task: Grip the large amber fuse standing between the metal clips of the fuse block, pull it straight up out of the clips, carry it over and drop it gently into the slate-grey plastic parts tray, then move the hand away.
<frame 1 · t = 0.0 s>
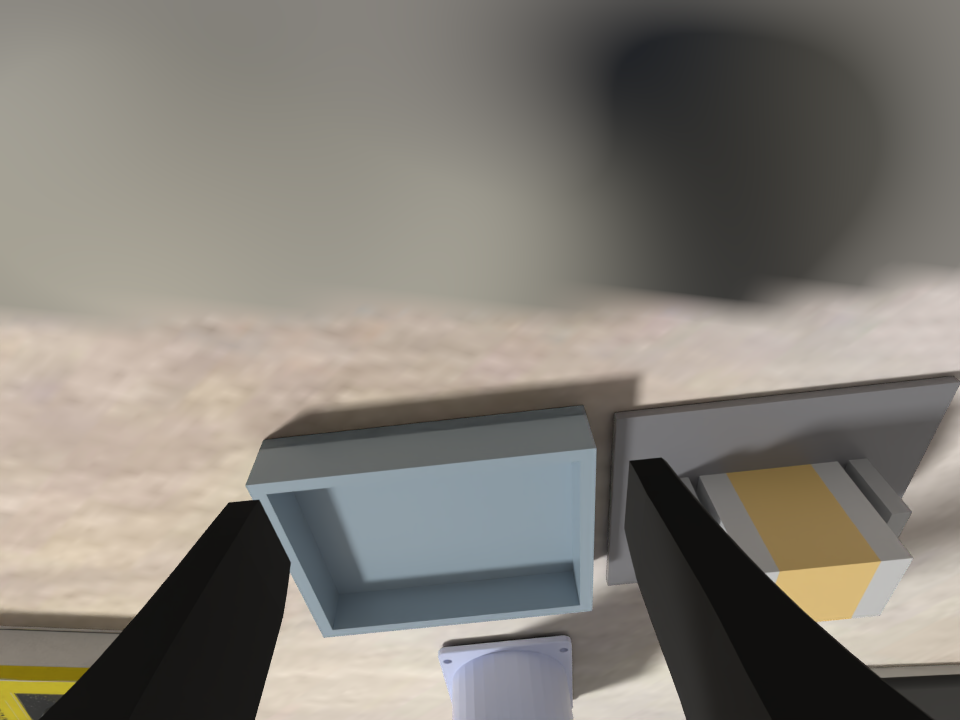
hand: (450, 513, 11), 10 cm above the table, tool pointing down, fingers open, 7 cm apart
fuse block: (755, 491, 26), on the table
smartphone: (895, 698, 42), on the table
blown fuse: (759, 498, 26), resting on fuse block
emergency button: (93, 657, 34), on the table
parts tray: (441, 510, 26), on the table
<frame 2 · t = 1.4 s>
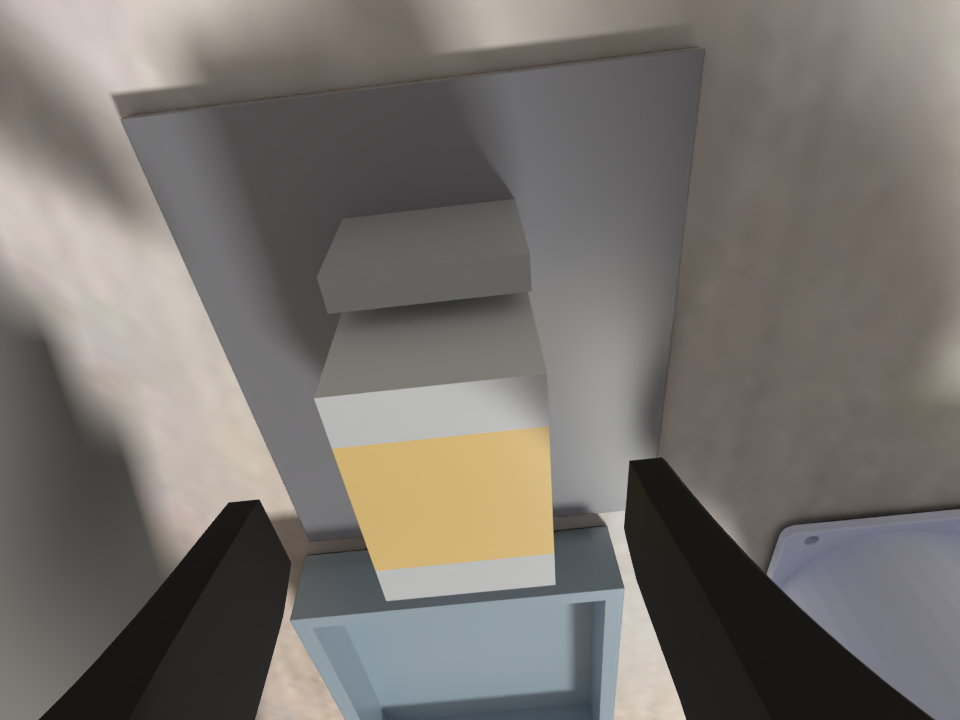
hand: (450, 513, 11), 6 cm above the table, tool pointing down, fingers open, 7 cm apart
fuse block: (453, 354, 16), on the table
blown fuse: (453, 362, 15), resting on fuse block
parts tray: (474, 636, 24), on the table
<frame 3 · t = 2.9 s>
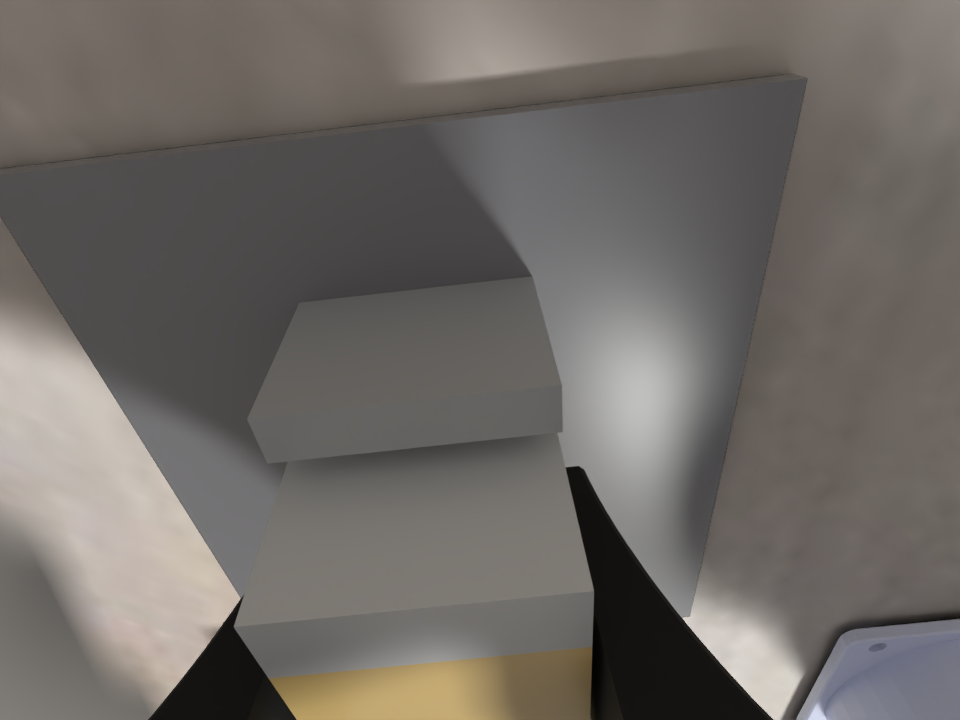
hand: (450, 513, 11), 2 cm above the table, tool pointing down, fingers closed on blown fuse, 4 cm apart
fuse block: (449, 455, 12), on the table
blown fuse: (449, 469, 12), resting on fuse block, touching gripper
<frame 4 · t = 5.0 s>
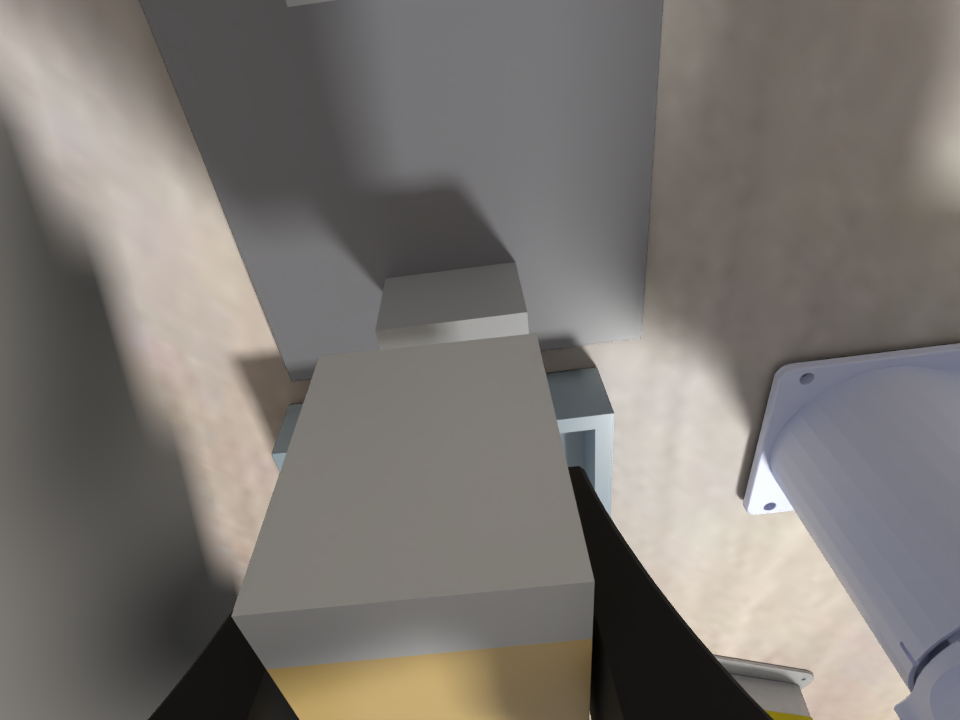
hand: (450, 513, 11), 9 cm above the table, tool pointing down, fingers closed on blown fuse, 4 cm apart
fuse block: (430, 144, 15), on the table
blown fuse: (449, 463, 12), point 7 cm above the table, touching gripper
emergency button: (686, 704, 38), on the table
parts tray: (466, 507, 24), on the table
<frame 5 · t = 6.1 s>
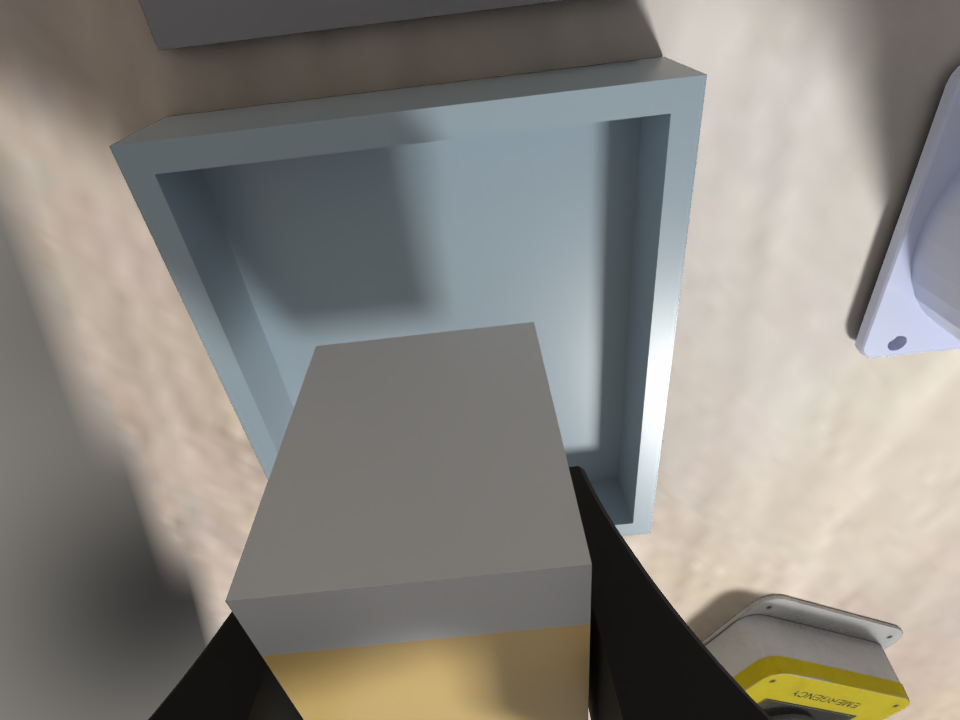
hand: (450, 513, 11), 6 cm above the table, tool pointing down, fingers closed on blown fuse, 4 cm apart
blown fuse: (447, 455, 12), point 5 cm above the table, touching gripper
emergency button: (732, 669, 30), on the table
parts tray: (451, 337, 16), on the table
when the fingers open (3 cm above the table, at t = 7.1 s): blown fuse stays where it is, resting on parts tray.
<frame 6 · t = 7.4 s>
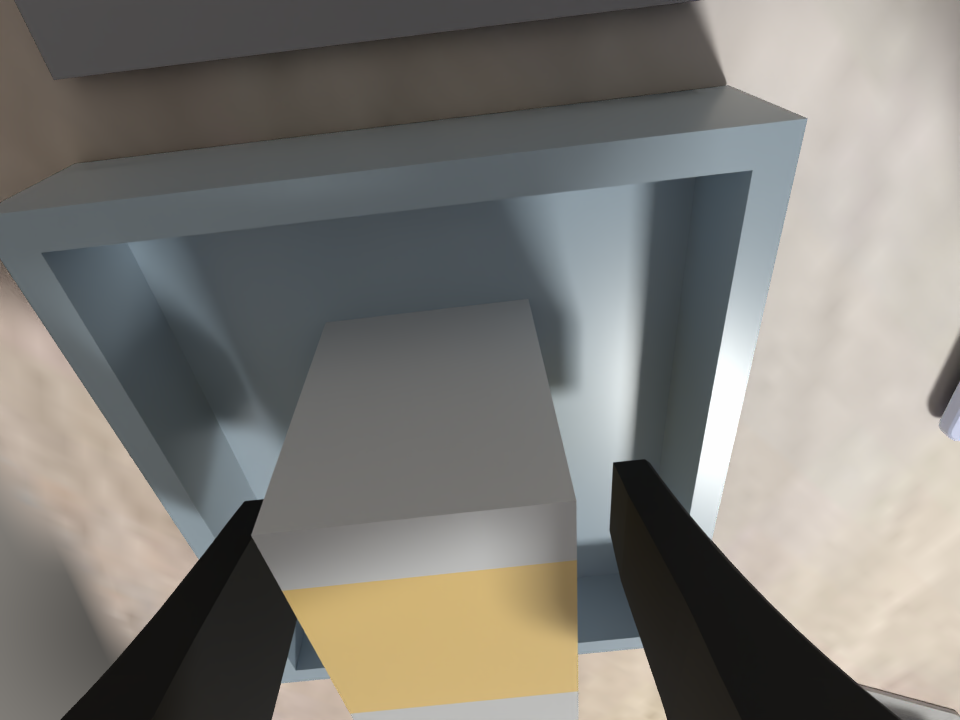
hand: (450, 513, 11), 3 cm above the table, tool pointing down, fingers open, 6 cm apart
blown fuse: (448, 427, 13), point 1 cm above the table, touching parts tray
parts tray: (449, 419, 13), on the table
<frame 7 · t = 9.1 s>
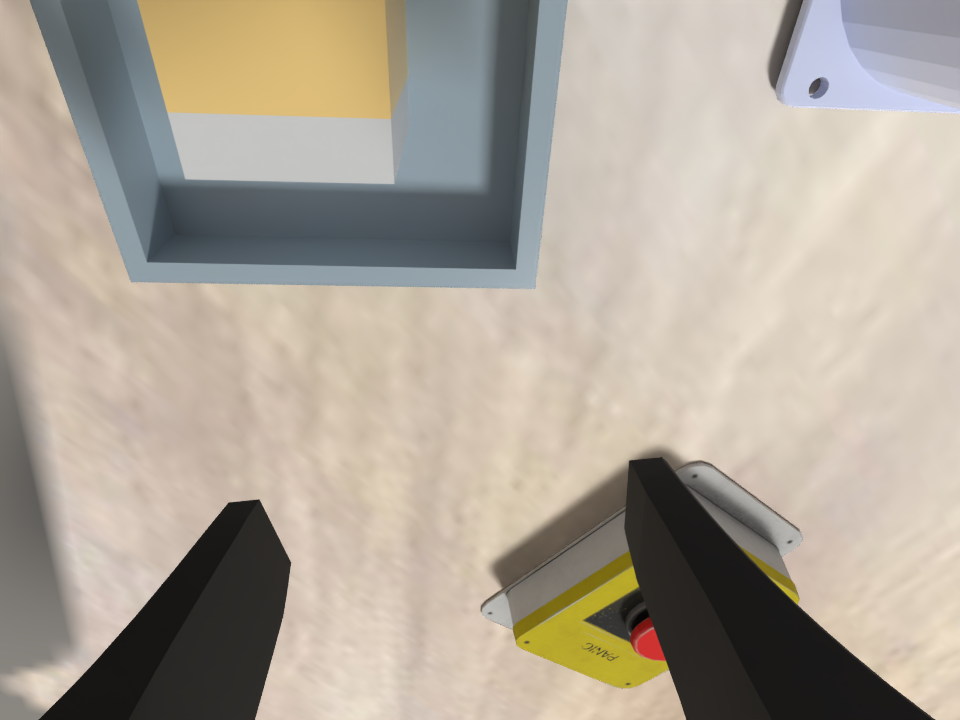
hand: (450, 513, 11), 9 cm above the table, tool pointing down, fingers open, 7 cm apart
emergency button: (630, 563, 29), on the table
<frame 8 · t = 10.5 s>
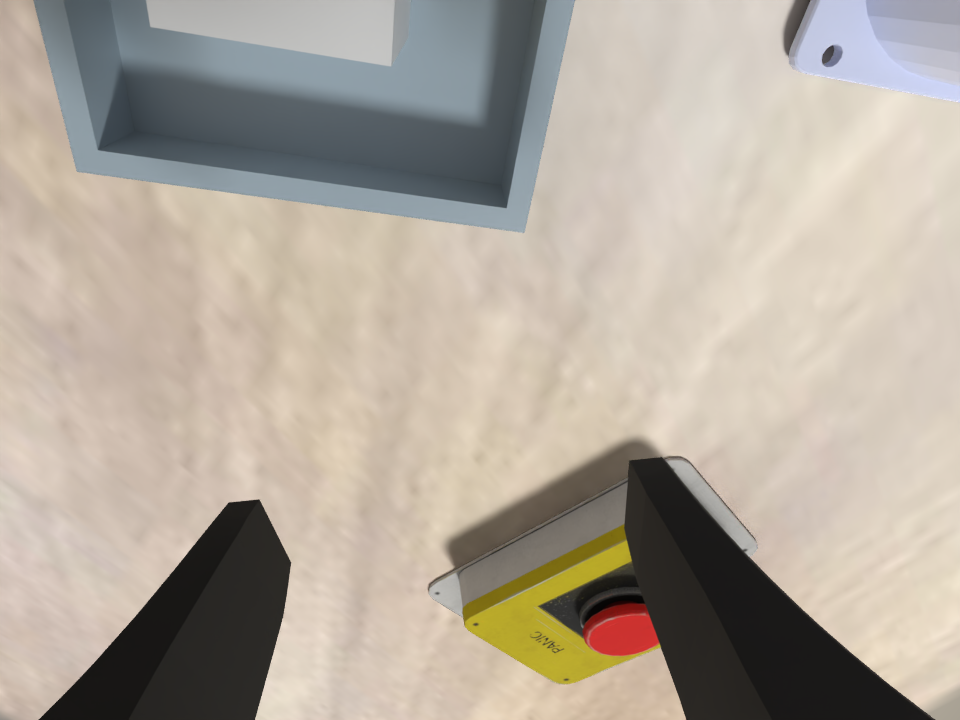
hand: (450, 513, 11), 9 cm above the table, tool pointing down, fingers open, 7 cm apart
emergency button: (586, 557, 29), on the table
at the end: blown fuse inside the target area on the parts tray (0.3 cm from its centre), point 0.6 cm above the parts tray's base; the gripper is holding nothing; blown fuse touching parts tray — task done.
